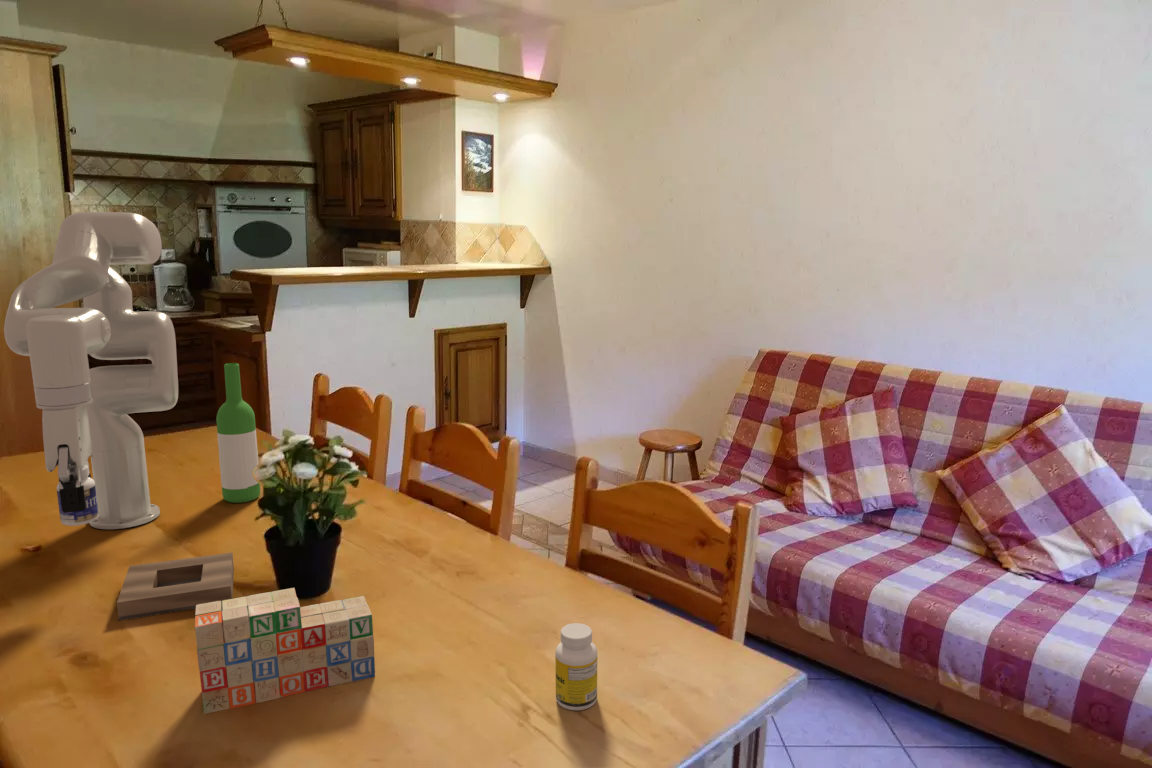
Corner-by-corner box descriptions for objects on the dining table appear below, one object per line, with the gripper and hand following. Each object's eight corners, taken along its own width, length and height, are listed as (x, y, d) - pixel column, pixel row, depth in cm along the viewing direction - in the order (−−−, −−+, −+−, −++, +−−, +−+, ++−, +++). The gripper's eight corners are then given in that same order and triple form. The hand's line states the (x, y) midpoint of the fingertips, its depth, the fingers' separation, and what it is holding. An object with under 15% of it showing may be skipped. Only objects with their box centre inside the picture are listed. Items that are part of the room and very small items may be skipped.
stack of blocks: (367, 655, 114) (364, 574, 112) (376, 678, 109) (372, 593, 106) (202, 689, 106) (194, 603, 103) (202, 715, 100) (193, 625, 98)
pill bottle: (81, 528, 127) (74, 474, 125) (53, 524, 128) (45, 472, 126) (106, 515, 132) (100, 464, 130) (79, 512, 133) (72, 461, 131)
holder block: (131, 582, 136) (129, 565, 135) (233, 568, 142) (232, 552, 141) (118, 620, 123) (116, 602, 123) (232, 603, 129) (230, 586, 128)
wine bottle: (268, 496, 178) (258, 363, 172) (237, 506, 171) (226, 368, 165) (246, 490, 182) (236, 359, 176) (215, 499, 175) (203, 364, 169)
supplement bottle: (554, 688, 107) (554, 620, 105) (594, 686, 107) (595, 619, 105) (556, 713, 101) (556, 642, 99) (599, 711, 102) (600, 640, 100)
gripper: (48, 384, 132) (62, 489, 136) (21, 410, 116) (38, 527, 120) (100, 381, 134) (113, 484, 138) (81, 406, 119) (95, 520, 123)
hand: (78, 503), depth 129 cm, fingers closed on pill bottle, 5 cm apart
